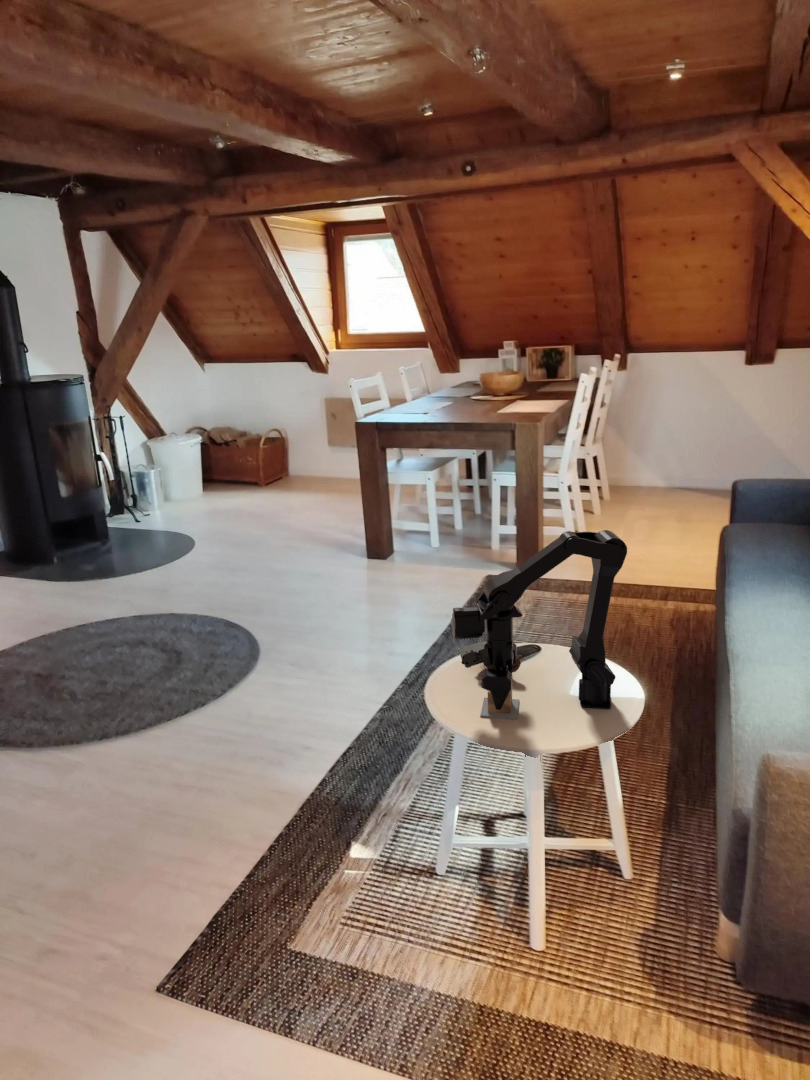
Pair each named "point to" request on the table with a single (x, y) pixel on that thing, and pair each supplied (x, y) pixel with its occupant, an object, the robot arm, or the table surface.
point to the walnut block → (506, 706)
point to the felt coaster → (500, 715)
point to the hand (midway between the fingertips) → (500, 698)
